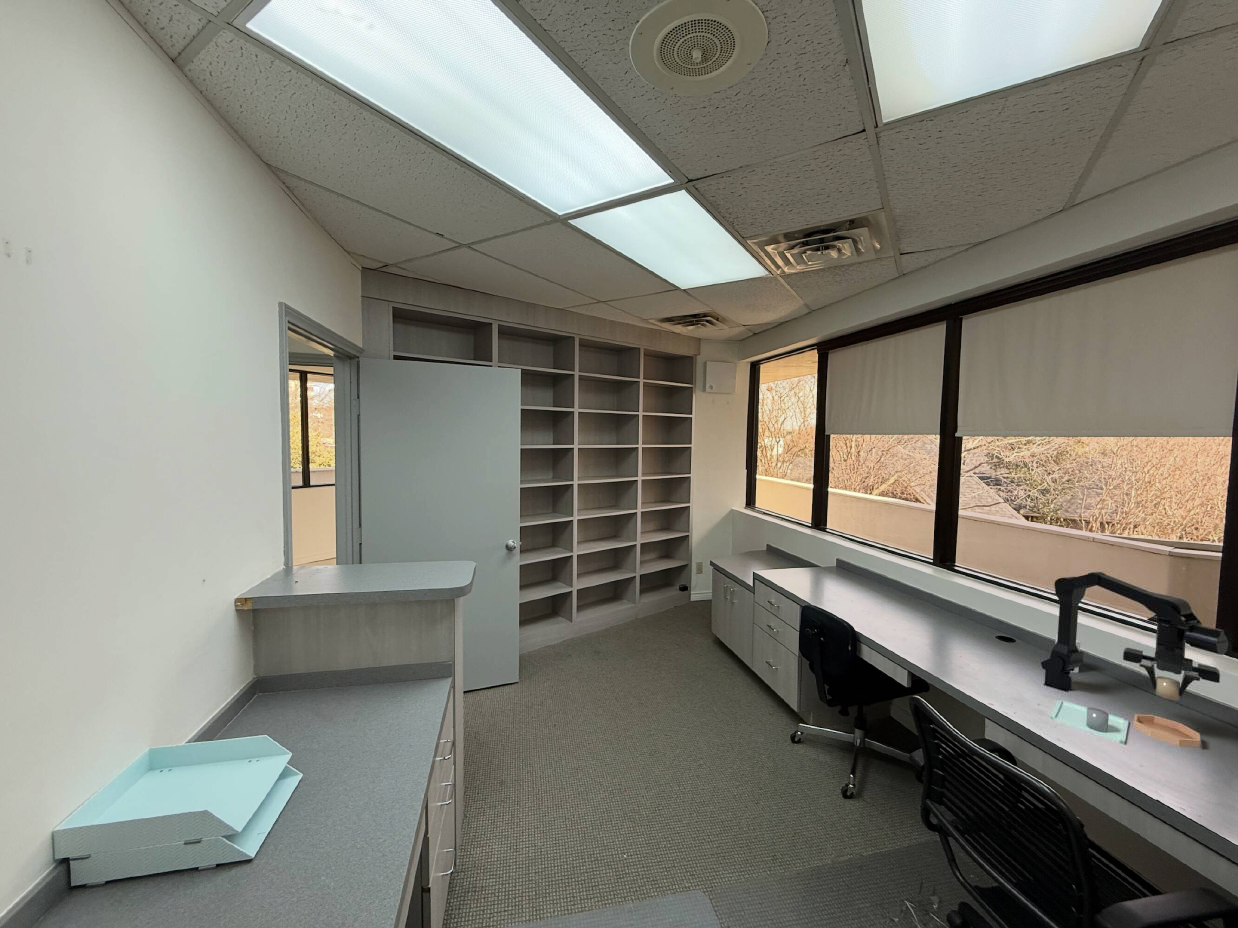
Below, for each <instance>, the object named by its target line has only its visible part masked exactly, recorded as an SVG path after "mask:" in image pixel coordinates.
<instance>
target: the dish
mask: <svg viewBox="0 0 1238 928" xmlns="http://www.w3.org/2000/svg"><path fill="white" fill-rule="evenodd" d="M1132 727H1133V728H1135V729H1136V730H1138V731H1139V732H1141V733H1143V734H1145V735H1147V736H1149V737H1150V738H1152V739H1155V740H1158V741H1162V742H1165V743H1168V744H1171V745H1174V746H1178V747H1185V748H1186V747H1187V748H1201V747H1200V745H1201V734H1200V733H1199V732H1197V731H1196V730H1194V729H1192V728H1190V727H1188V726H1186V725H1184V724H1182V723H1180V722H1177V721H1174V720H1172V719H1171V720H1170V719H1168V718H1163V717H1160V716H1156V715H1155V714H1137V713H1134V718H1133V726H1132Z"/></svg>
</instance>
